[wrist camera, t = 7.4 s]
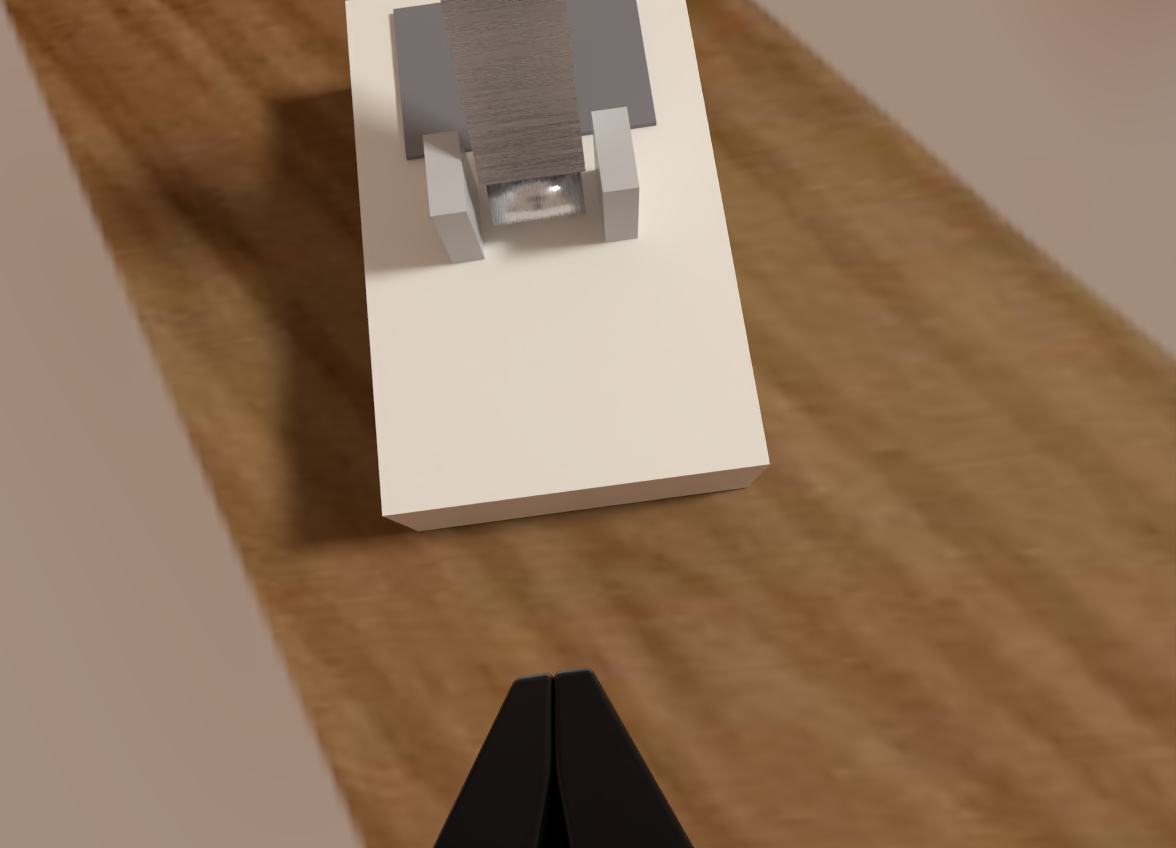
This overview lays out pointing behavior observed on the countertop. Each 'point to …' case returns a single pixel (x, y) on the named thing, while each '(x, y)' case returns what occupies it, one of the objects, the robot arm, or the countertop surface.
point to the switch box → (548, 284)
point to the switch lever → (519, 105)
